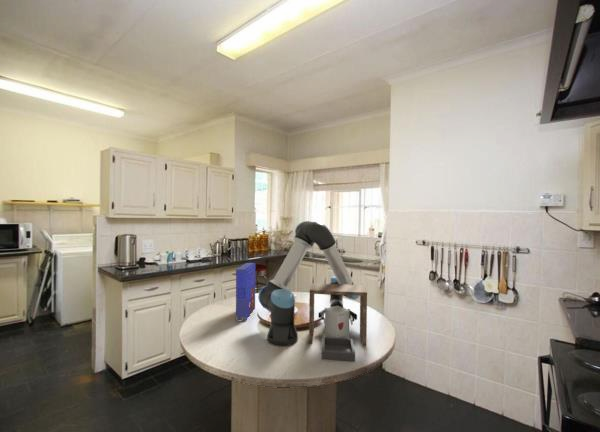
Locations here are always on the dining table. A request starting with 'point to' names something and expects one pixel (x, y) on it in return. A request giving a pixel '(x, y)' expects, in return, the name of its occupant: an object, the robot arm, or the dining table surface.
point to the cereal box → (245, 291)
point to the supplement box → (337, 322)
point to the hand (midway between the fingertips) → (338, 321)
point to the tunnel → (340, 290)
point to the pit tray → (338, 349)
